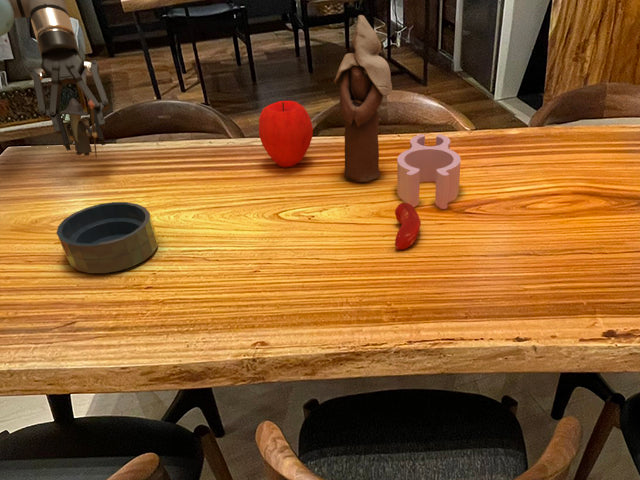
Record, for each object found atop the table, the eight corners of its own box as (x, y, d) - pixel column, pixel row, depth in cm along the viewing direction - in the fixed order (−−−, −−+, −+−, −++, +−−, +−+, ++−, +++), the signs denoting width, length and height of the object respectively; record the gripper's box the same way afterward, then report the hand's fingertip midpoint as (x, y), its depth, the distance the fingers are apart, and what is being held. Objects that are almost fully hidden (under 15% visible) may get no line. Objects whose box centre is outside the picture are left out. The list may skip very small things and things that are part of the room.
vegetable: (385, 202, 116) (392, 242, 109) (411, 192, 115) (420, 231, 107) (393, 221, 120) (401, 260, 112) (419, 210, 118) (429, 250, 111)
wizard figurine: (64, 156, 132) (50, 97, 124) (75, 148, 136) (62, 89, 129) (103, 160, 132) (91, 100, 125) (113, 151, 136) (102, 93, 129)
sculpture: (401, 164, 138) (400, 10, 118) (386, 189, 129) (383, 27, 109) (351, 159, 140) (343, 8, 120) (333, 184, 131) (321, 25, 111)
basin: (54, 275, 108) (40, 245, 104) (90, 231, 119) (79, 202, 115) (141, 276, 107) (131, 245, 103) (169, 231, 118) (161, 202, 114)
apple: (310, 176, 134) (304, 113, 125) (258, 175, 136) (247, 112, 127) (320, 154, 143) (314, 93, 134) (270, 153, 144) (261, 93, 135)
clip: (401, 165, 137) (401, 134, 132) (458, 166, 136) (460, 134, 131) (395, 208, 122) (394, 174, 118) (458, 209, 121) (460, 175, 117)
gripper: (107, 44, 136) (134, 145, 136) (12, 55, 131) (41, 160, 131) (100, 23, 129) (130, 129, 128) (0, 33, 124) (30, 144, 123)
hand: (85, 144), depth 129 cm, fingers closed on wizard figurine, 6 cm apart
